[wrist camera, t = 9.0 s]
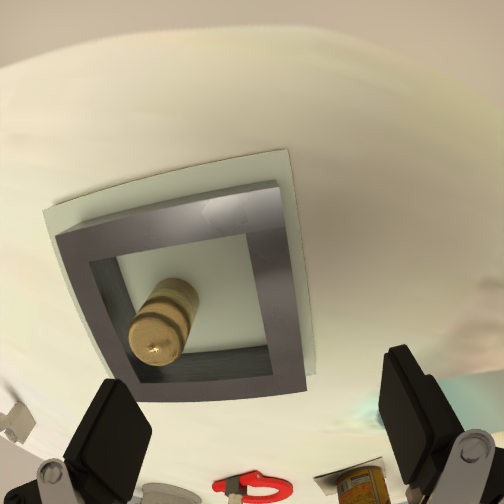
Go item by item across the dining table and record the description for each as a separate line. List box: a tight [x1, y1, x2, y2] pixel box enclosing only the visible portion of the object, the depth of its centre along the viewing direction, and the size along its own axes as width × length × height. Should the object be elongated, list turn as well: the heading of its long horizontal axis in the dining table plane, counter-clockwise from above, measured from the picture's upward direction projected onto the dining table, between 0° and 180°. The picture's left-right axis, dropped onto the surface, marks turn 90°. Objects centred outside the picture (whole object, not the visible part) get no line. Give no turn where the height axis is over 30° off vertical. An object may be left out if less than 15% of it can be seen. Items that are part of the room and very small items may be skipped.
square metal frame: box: [55, 179, 307, 402], centre depth 17 cm, size 12×12×3 cm
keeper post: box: [128, 278, 199, 366], centre depth 16 cm, size 3×3×6 cm
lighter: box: [0, 401, 36, 444], centre depth 23 cm, size 7×2×8 cm, turn 175°
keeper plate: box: [42, 149, 316, 379], centre depth 19 cm, size 16×15×2 cm
